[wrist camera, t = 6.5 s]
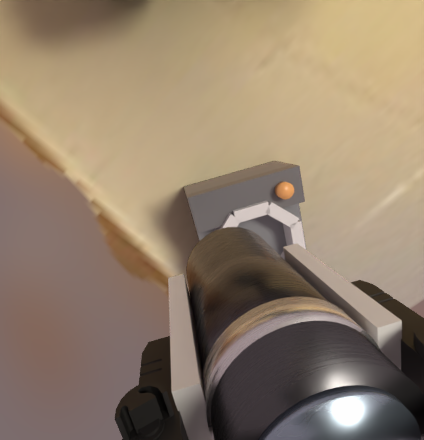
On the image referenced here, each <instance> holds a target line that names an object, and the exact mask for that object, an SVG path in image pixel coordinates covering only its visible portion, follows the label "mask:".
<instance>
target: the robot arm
mask: <svg viewBox="0 0 424 440" xmlns="http://www.w3.org/2000/svg"><path fill="white" fill-rule="evenodd" d="M283 250H284V256H285V260H286V261H287V262H288V263H289V264H290V265H291V266H292V267H293V268H294V269H295V270H296V271H297V272H298V273H299V274H300V275H301V276H302V277H303V278H304V279H306V280H307V281H308V282H309V283H310V284H311V285H312V286H313V287H314V288H315V289H316V290H317V291H318V292H319V293H320V294H321V295H322V296H323V297H324V298H325V299H327V300H328V301H329V302H330V303H331V304H334V305H336V306H337V307H338V308H340V309H341V310H343V311H344V312H345V313H346V314H347V315H348V316H349V317H350V318H352V319H353V320H354V321H355V322H356V323H357V324H358V325H359V326H360V327H361V328H362V329H363V330H365V331H366V332H367V333H368V334H369V335H370V336H371V337H372V338H373V339H374V341H375V342H376V343H377V345H378V346H379V348H380V350H381V352H382V353H383V354H384V355H385V356H386V357H387V358H389V359H390V360H391V361H392V362H393V363H394V364H395V365H396V366H397V367H398V368H399V369H400V370H401V371H402V372H403V373H404V374H405V375H406V376H407V377H408V378H410V379H411V380H412V381H413V382H414V383H415V384H416V385H417V386H418V387H419V389H420V390H421V391H422V393H423V394H424V318H423V317H421V316H419V315H418V314H417V313H415V312H414V311H412V310H411V309H409V308H408V307H406V306H405V305H403V304H402V303H400V302H399V301H397V300H396V299H393V297H391V296H390V295H388V294H387V293H384V291H382V290H381V289H379V288H378V287H376V286H375V285H373V284H370V283H367V282H364V281H361V280H358V281H355V282H351V283H350V282H349V281H348V280H346V279H345V278H344V277H342V276H341V275H339V274H338V273H337V272H335V271H334V270H333V269H331V268H330V267H329V266H327V265H326V264H325V263H323V262H322V261H320V260H319V259H318V258H316V257H315V256H314V255H312V254H311V253H310V252H308V251H307V250H306V249H304V248H303V247H302V246H300V245H299V244H297V243H296V244H292V245H289V246H285V247H283ZM168 280H169V316H170V336H168V337H165V338H161V339H158V340H154V341H151V342H148V344H147V346H146V348H145V350H144V351H143V353H142V360H141V369H140V378H139V385H138V386H136V387H134V388H133V389H132V390H130V391H129V392H128V393H127V394H126V395H125V396H124V397H123V398H122V399H121V401H120V403H119V404H118V407H117V408H116V414H115V421H116V423H117V425H118V428H119V430H120V432H121V435H122V437H123V439H122V440H213V439H212V437H211V434H210V432H209V428H208V423H207V417H206V403H205V397H204V390H203V384H202V376H203V370H202V364H201V358H200V352H199V346H198V340H197V334H196V328H195V322H194V317H193V311H192V305H191V299H190V296H189V292H188V288H187V284H186V281H185V277H184V274H181V275H177V276H174V277H170V278H168Z"/></svg>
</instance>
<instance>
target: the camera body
mask: <svg viewBox="0 0 424 440" xmlns="http://www.w3.org/2000/svg"><path fill="white" fill-rule="evenodd" d="M184 191H185V194H186V197H187V201H188V204H189V208H190V211H191V214H192V218H193V221H194V225H195V228H196V232H197V235H198V238H199V241H200V240H201V239H203V238H204V237H205V236H206V235H208V234H210V233H211V232H214V231H216V230H219V229H222V228H227V227H241V228H245V229H248V230H251V231H253V232H255V233H256V234H258V235H259V236H260V237H261V238H262V239H263V240H265V241H266V242H267V243H268V244H269V245H270V246H271V247H272V248H273V249H274V250H275V251H276V252H277V253H278V254H279V255H280V256H281V257H282V258H283V259H284V260H285V256H284V250H283V247H285V246H289V245H292V244H296V243H297V244H299V245H300V246H302V247H303V248H304V249H306V244H305V238H304V232H303V226H302V219H301V213H300V207H299V203H301V202H305V199H304V193H303V186H302V180H301V174H300V167H299V166H298V165H293V164H288V163H283V162H278V161H272V162H268V163H265V164H261V165H258V166H254V167H251V168H247V169H244V170H240V171H237V172H233V173H230V174H226V175H223V176H219V177H215V178H212V179H208V180H205V181H201V182H198V183H194V184H191V185H187V186H184Z"/></svg>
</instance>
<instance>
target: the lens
mask: <svg viewBox="0 0 424 440" xmlns="http://www.w3.org/2000/svg"><path fill="white" fill-rule="evenodd" d="M186 272H187V281H188V287H189V293H190V299H191V305H192V311H193V317H194V322H195V328H196V334H197V340H198V346H199V352H200V358H201V364H202V370H203V376H202V384H203V390H204V397H205V403H206V417H207V423H208V428H209V432H210V434H211V437H212V439H213V440H424V394H423V393H422V391H421V390H420V389H419V387H418V386H417V385H416V384H415V383H414V382H413V381H412V380H411V379H410V378H408V377H407V376H406V375H405V374H404V373H403V372H402V371H401V370H400V369H399V368H398V367H397V366H396V365H395V364H394V363H393V362H392V361H391V360H390V359H389V358H387V357H386V356H385V355H384V354H383V353H382V352H381V350H380V348H379V346H378V345H377V343H376V342H375V341H374V339H373V338H372V337H371V336H370V335H369V334H368V333H367V332H366V331H365V330H363V329H362V328H361V327H360V326H359V325H358V324H357V323H356V322H355V321H354V320H353V319H352V318H350V317H349V316H348V315H347V314H346V313H345V312H344V311H343V310H341V309H340V308H338V307H337V306H336V305H334V304H331V303H330V302H329V301H328V300H327V299H325V298H324V297H323V296H322V295H321V294H320V293H319V292H318V291H317V290H316V289H315V288H314V287H313V286H312V285H311V284H310V283H309V282H308V281H307V280H306V279H304V278H303V277H302V276H301V275H300V274H299V273H298V272H297V271H296V270H295V269H294V268H293V267H292V266H291V265H290V264H289V263H288V262H287V261H286V260H284V259H283V258H282V257H281V256H280V255H279V254H278V253H277V252H276V251H275V250H274V249H273V248H272V247H271V246H270V245H269V244H268V243H267V242H266V241H265V240H263V239H262V238H261V237H260V236H259V235H258V234H256V233H255V232H253V231H251V230H248V229H245V228H241V227H227V228H222V229H219V230H216V231H214V232H211V233H210V234H208V235H206V236H205V237H204V238H203V239H201V240H200V241H199V242H198V243H197V245H196V246H195V247H194V249H193V250H192V252H191V254H190V256H189V259H188V263H187V270H186Z"/></svg>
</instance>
